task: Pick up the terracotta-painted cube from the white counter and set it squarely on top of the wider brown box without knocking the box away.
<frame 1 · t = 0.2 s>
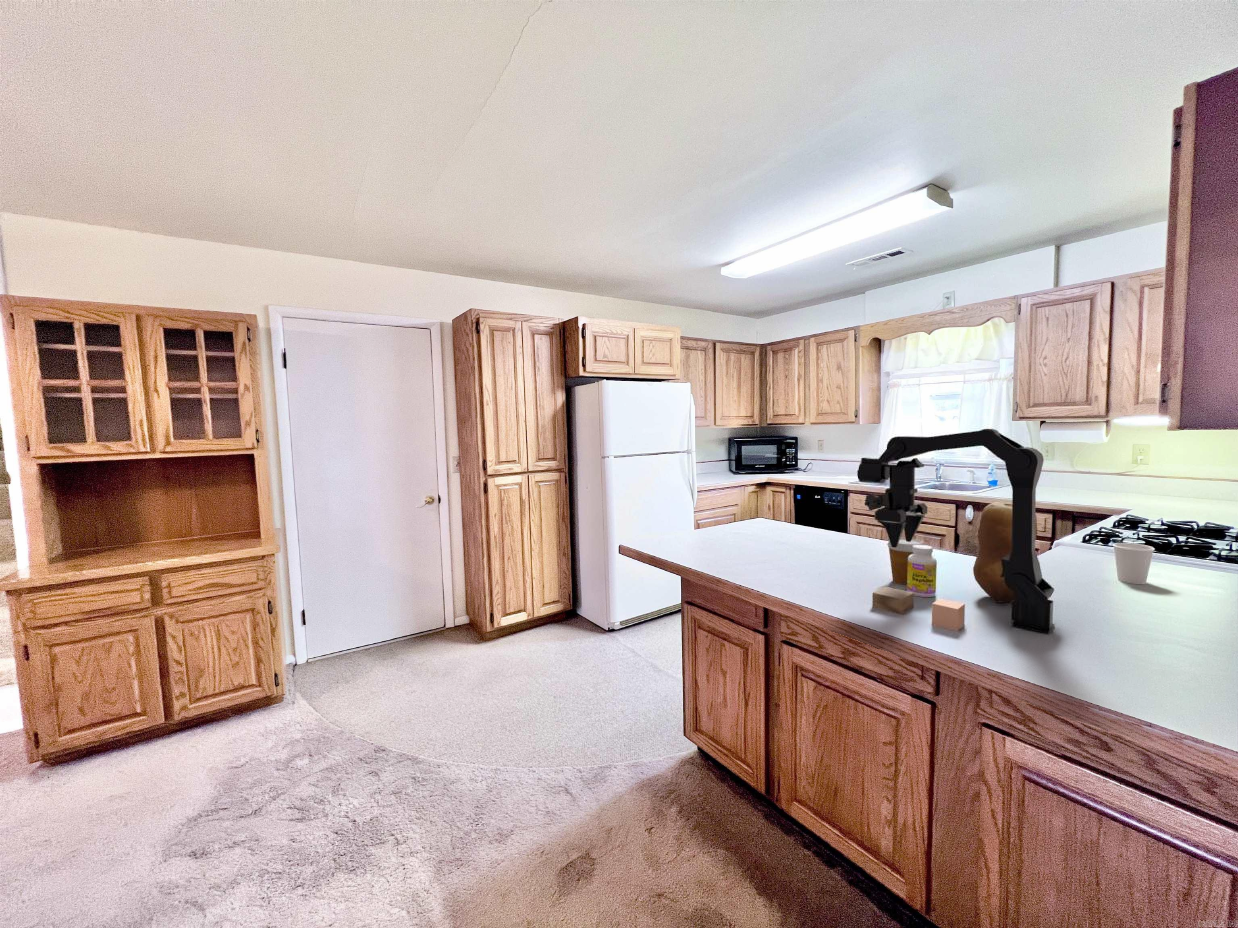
hand: (901, 544, 134), 14 cm above the counter, fingers open, 9 cm apart
dixie cup: (1131, 581, 145), on the counter
butternut squash: (1003, 600, 132), on the counter
supplement bottle: (921, 594, 138), on the counter
brown box: (892, 608, 128), on the counter
disposable coffee cup: (905, 582, 148), on the counter
cube: (948, 625, 116), on the counter
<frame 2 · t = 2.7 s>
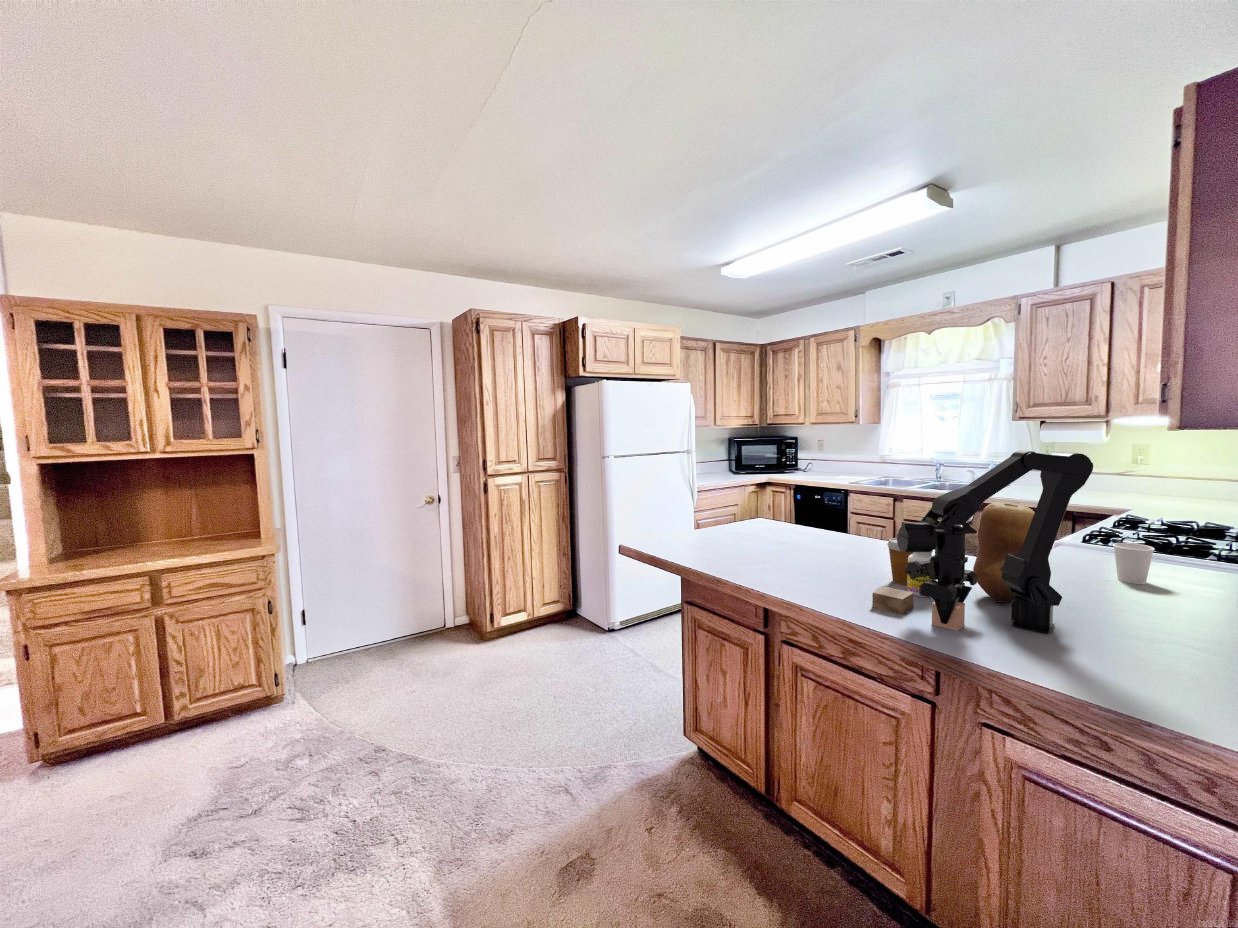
hand: (948, 620, 116), 1 cm above the counter, fingers closed on cube, 5 cm apart
cube: (948, 624, 116), on the counter, touching gripper
everything else where it was.
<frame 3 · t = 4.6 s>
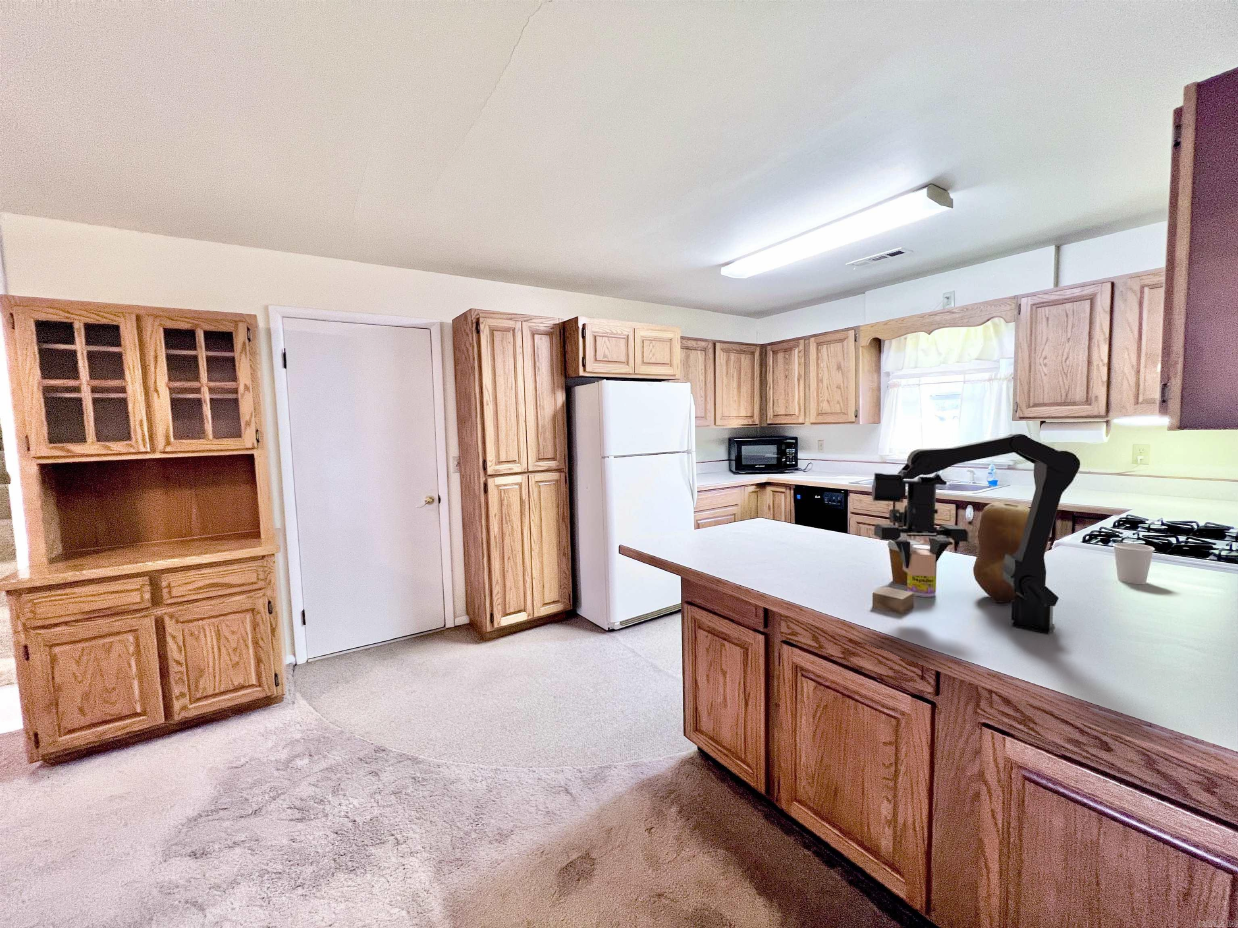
hand: (918, 568, 121), 11 cm above the counter, fingers closed on cube, 5 cm apart
cube: (918, 572, 122), point 10 cm above the counter, touching gripper
everything else where it was.
when the fingers open (6 cm above the counter, at t = 6.5 s): cube drops 1 cm, resting on brown box.
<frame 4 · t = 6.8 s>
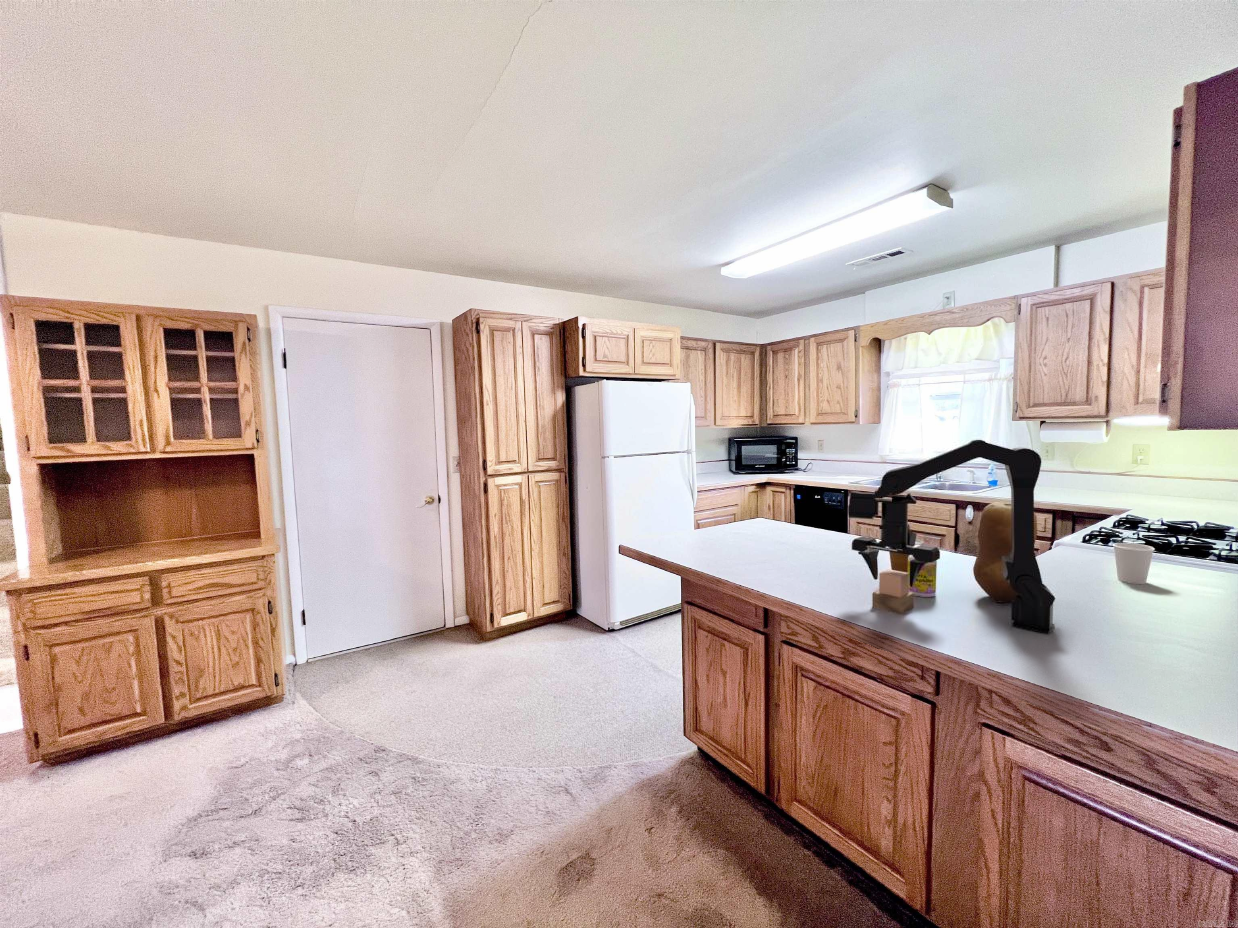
hand: (893, 582, 128), 6 cm above the counter, fingers open, 8 cm apart
brown box: (892, 608, 128), on the counter, touching cube
cube: (893, 592, 128), point 4 cm above the counter, touching brown box
everything else where it was.
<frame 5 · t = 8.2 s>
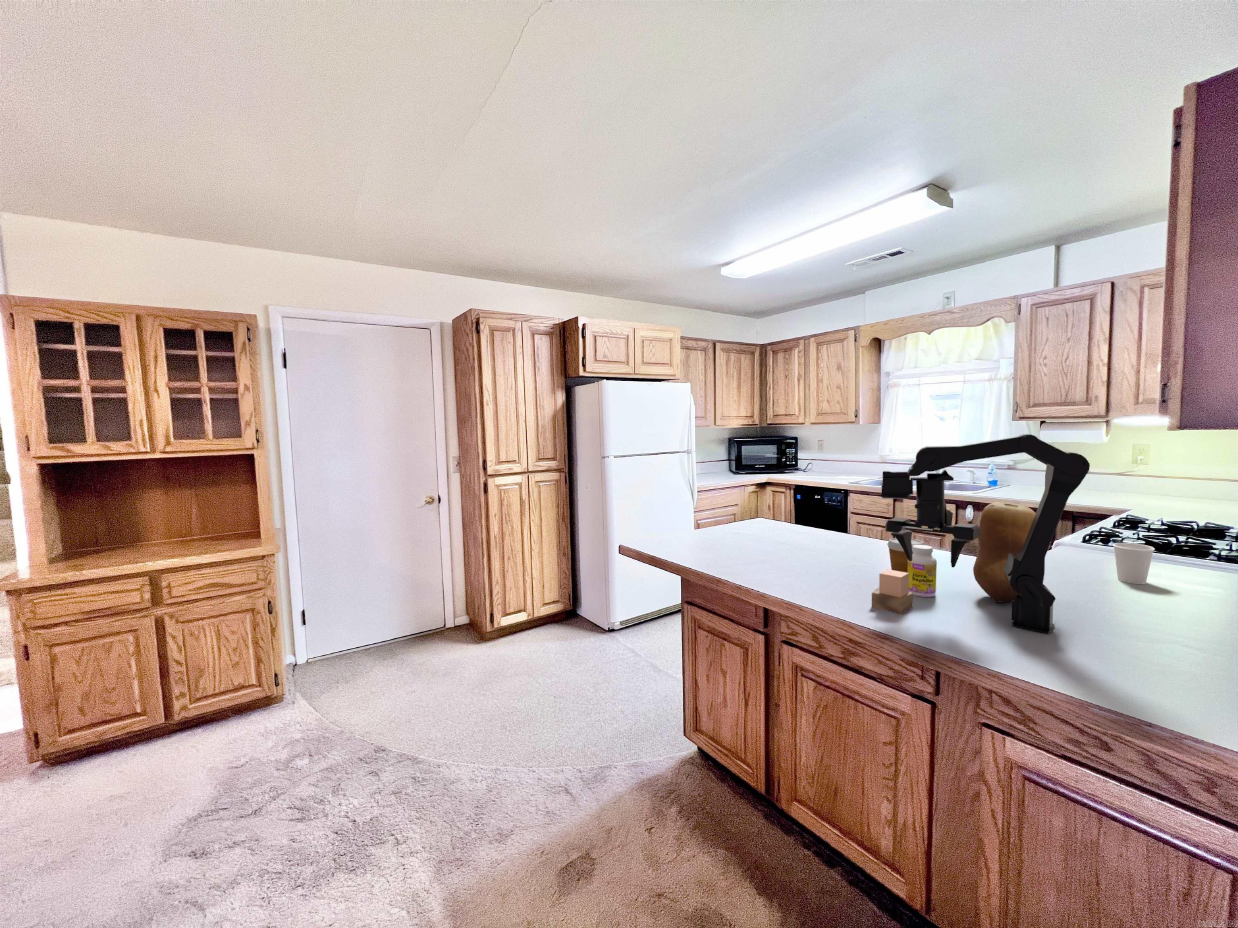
hand: (931, 563, 123), 12 cm above the counter, fingers open, 9 cm apart
nothing on the counter moved.
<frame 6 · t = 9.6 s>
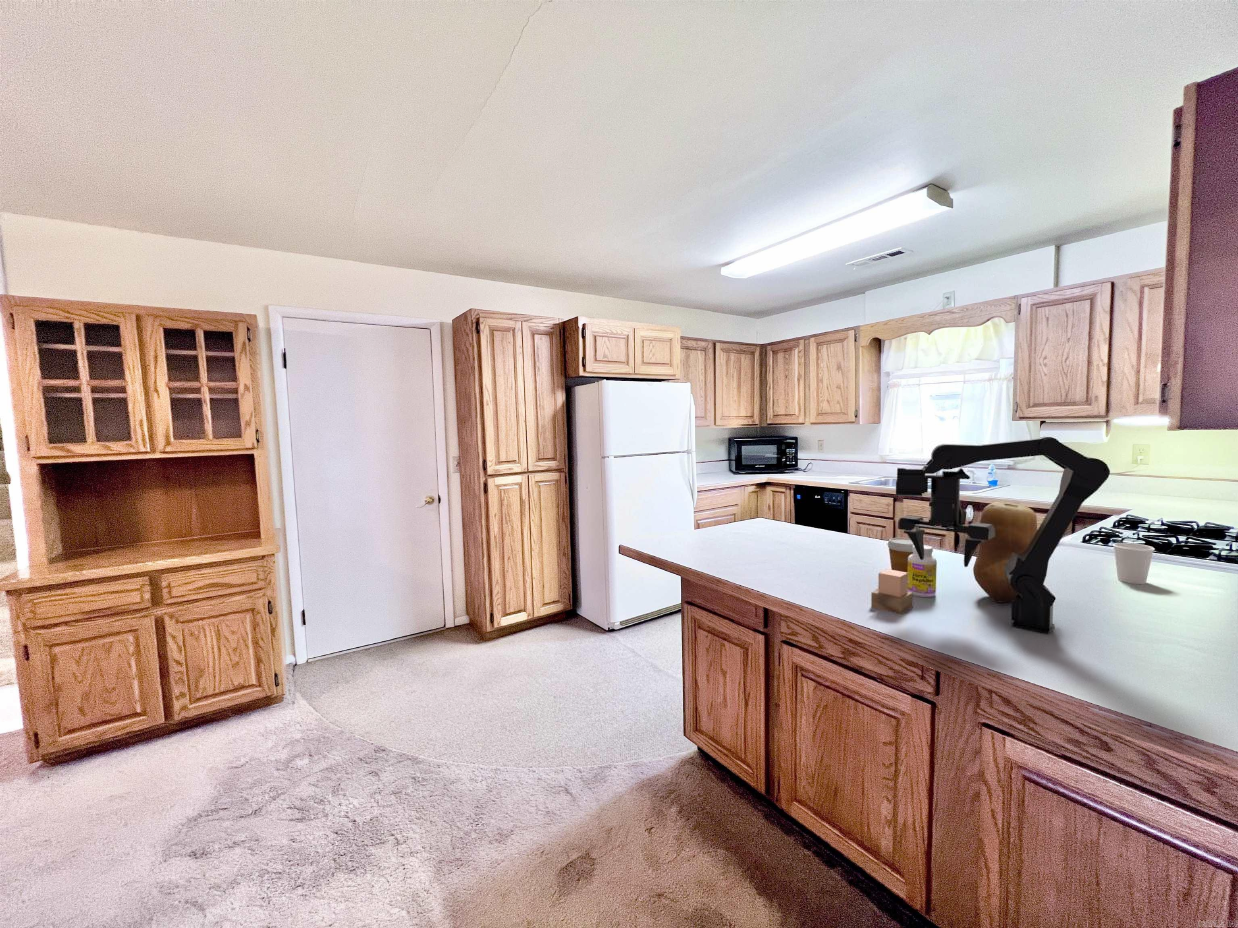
hand: (943, 562, 122), 13 cm above the counter, fingers open, 9 cm apart
nothing on the counter moved.
at the end: cube 0.2 cm off-centre on the brown box, point 4.0 cm above the brown box's base; cube tilted 0°; cube touching brown box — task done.
